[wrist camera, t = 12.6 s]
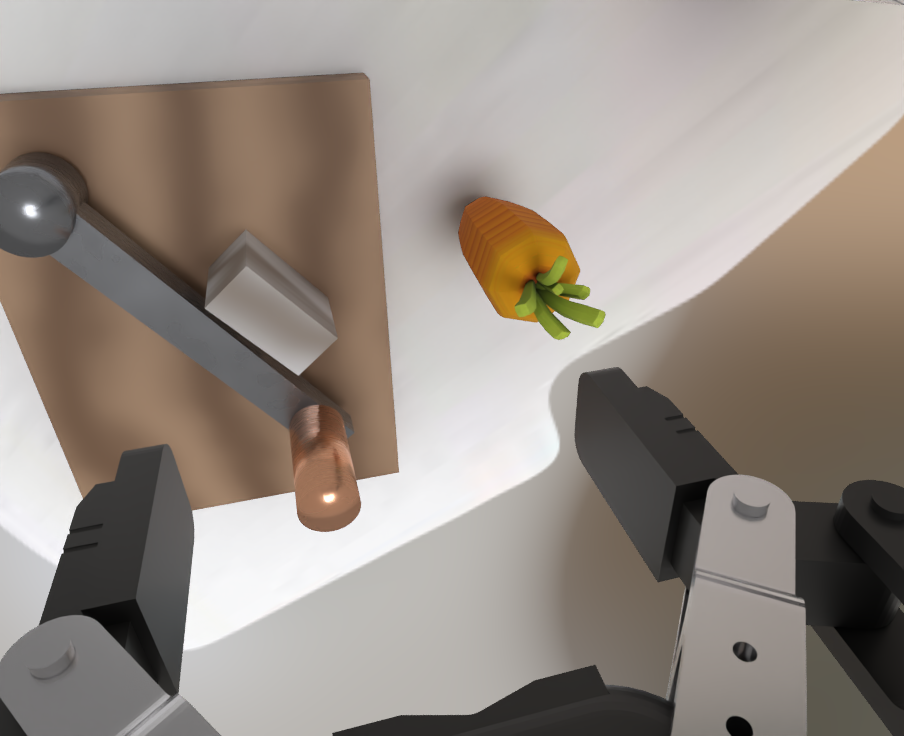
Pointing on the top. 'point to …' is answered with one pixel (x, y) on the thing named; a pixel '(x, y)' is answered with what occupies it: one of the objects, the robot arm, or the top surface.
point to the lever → (180, 325)
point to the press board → (184, 226)
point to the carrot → (524, 265)
